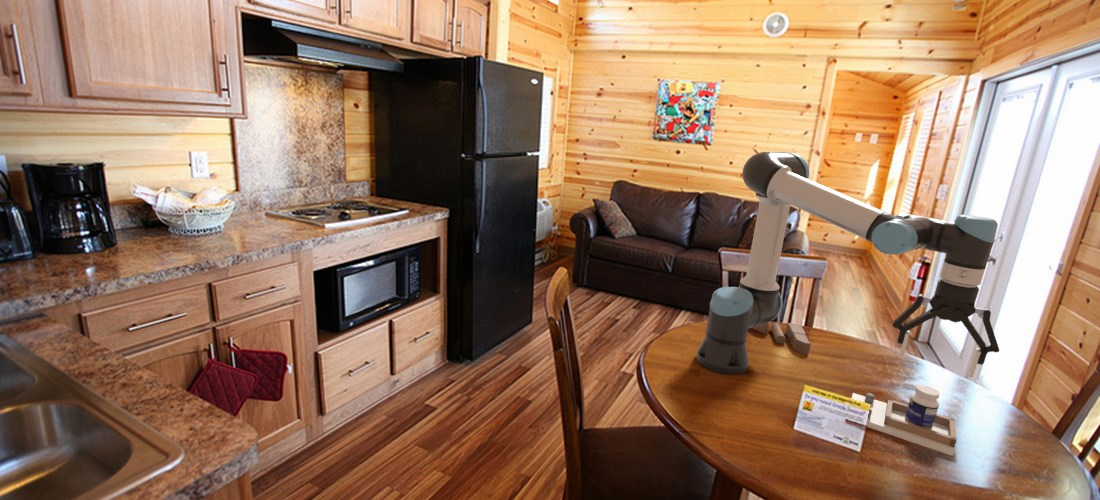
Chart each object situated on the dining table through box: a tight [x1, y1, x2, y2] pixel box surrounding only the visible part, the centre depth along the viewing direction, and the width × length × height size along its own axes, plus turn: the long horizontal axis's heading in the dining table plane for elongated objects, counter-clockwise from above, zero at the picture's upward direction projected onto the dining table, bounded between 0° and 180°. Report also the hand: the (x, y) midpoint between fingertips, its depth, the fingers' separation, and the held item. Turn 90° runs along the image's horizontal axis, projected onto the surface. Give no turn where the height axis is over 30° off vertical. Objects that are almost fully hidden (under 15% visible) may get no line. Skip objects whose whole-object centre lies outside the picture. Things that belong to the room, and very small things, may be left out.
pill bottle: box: [905, 384, 940, 430], centre depth 124 cm, size 6×6×10 cm
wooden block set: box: [750, 322, 812, 356], centre depth 175 cm, size 17×6×18 cm
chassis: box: [850, 392, 958, 457], centre depth 128 cm, size 22×14×4 cm, turn 54°
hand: (934, 365), depth 121 cm, fingers open, 13 cm apart
